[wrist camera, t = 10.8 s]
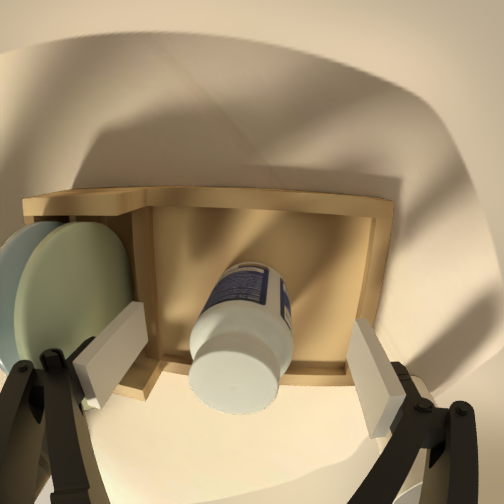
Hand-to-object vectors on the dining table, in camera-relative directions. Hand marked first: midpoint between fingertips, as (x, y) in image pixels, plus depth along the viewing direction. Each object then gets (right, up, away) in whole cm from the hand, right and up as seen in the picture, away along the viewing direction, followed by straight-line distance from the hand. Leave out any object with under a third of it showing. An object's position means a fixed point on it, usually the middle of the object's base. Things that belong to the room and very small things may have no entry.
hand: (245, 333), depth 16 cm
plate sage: (-9, +2, +6) cm, 12 cm away
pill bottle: (0, +2, +5) cm, 5 cm away
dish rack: (-3, +2, +6) cm, 7 cm away
